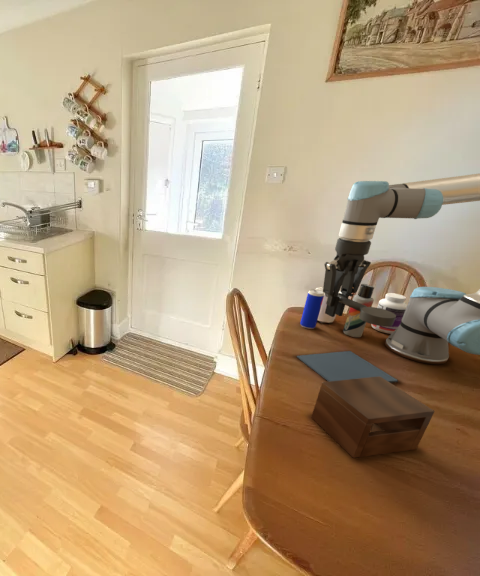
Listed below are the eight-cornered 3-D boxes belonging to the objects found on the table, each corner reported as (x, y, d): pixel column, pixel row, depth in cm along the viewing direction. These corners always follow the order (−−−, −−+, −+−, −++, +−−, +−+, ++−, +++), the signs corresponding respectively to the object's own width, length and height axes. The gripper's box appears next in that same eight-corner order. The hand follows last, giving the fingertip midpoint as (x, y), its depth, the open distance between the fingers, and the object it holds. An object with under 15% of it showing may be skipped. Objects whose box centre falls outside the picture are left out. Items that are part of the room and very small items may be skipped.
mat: (349, 352, 107) (350, 350, 107) (397, 381, 92) (398, 380, 92) (296, 357, 104) (296, 355, 104) (337, 388, 90) (337, 386, 89)
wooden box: (366, 411, 81) (379, 376, 77) (416, 449, 70) (435, 411, 66) (311, 417, 79) (322, 382, 75) (353, 458, 68) (368, 419, 64)
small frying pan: (334, 296, 99) (336, 289, 98) (400, 325, 81) (403, 316, 80) (315, 298, 98) (317, 290, 97) (377, 327, 80) (380, 318, 79)
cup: (302, 314, 134) (309, 287, 130) (326, 314, 134) (334, 287, 129) (317, 325, 125) (325, 296, 120) (342, 325, 125) (351, 296, 120)
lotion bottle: (338, 330, 121) (353, 282, 114) (352, 329, 121) (367, 281, 114) (351, 338, 116) (368, 288, 108) (365, 337, 116) (382, 287, 109)
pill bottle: (403, 333, 119) (416, 298, 114) (388, 336, 117) (401, 301, 111) (379, 323, 126) (391, 290, 121) (365, 326, 124) (376, 293, 119)
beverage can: (317, 329, 122) (327, 294, 116) (302, 328, 123) (312, 293, 117) (311, 323, 126) (321, 289, 121) (297, 322, 127) (306, 288, 122)
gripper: (343, 243, 83) (321, 322, 91) (391, 240, 85) (365, 317, 94) (319, 237, 90) (302, 311, 98) (364, 235, 92) (343, 307, 100)
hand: (333, 314), depth 96 cm, fingers closed on small frying pan, 2 cm apart
